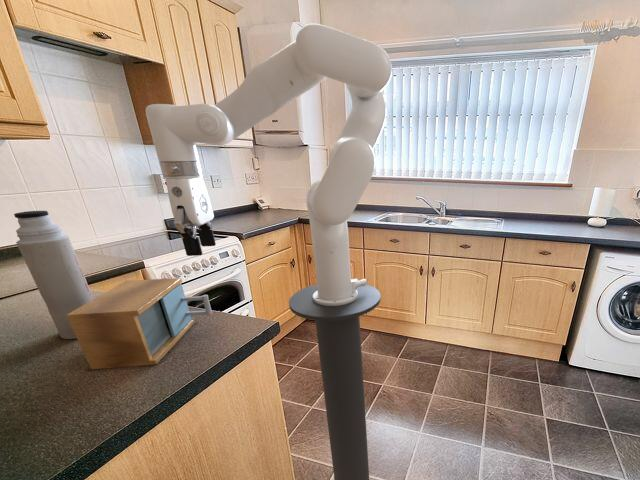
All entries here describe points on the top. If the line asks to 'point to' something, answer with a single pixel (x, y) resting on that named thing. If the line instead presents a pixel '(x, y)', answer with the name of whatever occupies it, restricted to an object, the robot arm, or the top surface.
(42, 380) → the top surface
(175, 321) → the blue door
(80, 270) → the thermos bottle
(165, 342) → the cabinet
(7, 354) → the top surface
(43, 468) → the top surface
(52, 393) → the top surface
